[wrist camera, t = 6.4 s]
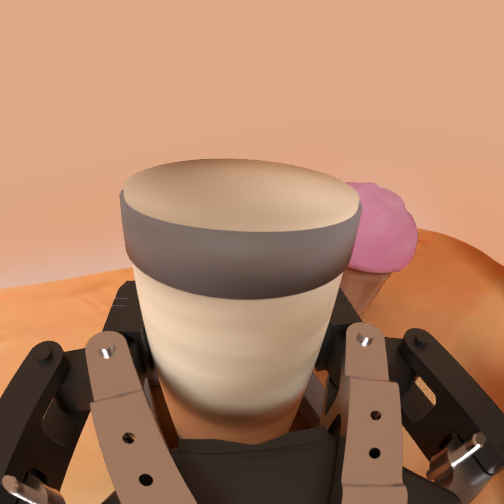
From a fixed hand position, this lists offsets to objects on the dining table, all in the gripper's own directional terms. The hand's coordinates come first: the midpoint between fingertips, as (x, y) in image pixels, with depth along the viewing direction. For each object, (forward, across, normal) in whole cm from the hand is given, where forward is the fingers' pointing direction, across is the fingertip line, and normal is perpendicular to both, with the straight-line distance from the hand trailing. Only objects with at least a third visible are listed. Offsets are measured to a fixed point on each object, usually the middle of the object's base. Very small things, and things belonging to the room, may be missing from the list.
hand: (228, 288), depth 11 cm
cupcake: (+7, -10, +7) cm, 14 cm away
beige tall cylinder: (-3, 0, +7) cm, 7 cm away
